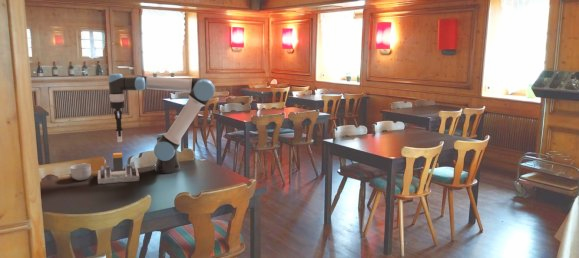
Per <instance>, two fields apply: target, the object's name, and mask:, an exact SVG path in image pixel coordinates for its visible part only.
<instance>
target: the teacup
mask: <svg viewBox="0 0 579 258" xmlns="http://www.w3.org/2000/svg"><path fill="white" fill-rule="evenodd" d="M69 169H70V175H71V178H72V179H73V180H75V181H86V180H88V179H89V177H91V176H92V175H91V174H92V167H91V164H90V163H86V162H82V163H78V164H73V165H71V166H70V167H69Z"/></svg>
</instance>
